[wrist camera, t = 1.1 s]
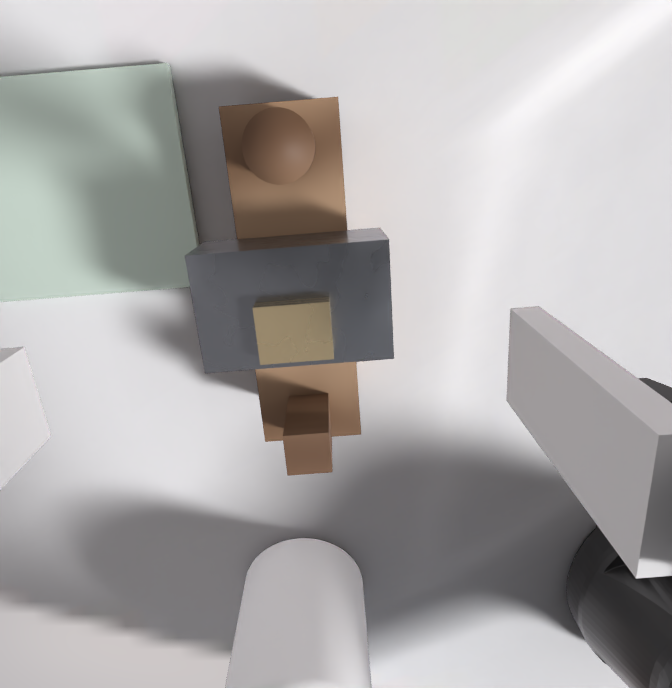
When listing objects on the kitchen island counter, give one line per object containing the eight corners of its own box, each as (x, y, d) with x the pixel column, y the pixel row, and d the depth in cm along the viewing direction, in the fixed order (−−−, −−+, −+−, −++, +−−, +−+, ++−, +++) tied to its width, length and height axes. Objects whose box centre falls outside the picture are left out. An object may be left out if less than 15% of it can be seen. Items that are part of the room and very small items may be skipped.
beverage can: (231, 604, 37) (190, 798, 26) (268, 516, 35) (241, 689, 24) (336, 634, 39) (341, 832, 27) (380, 551, 36) (404, 731, 25)
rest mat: (205, 283, 29) (203, 286, 29) (-6, 300, 30) (-12, 303, 29) (169, 64, 26) (166, 62, 25) (-72, 85, 26) (-81, 83, 25)
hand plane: (355, 393, 32) (366, 479, 23) (274, 399, 32) (255, 487, 24) (336, 107, 26) (340, 84, 18) (237, 115, 27) (196, 96, 18)
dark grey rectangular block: (385, 332, 25) (396, 365, 21) (220, 345, 25) (200, 380, 21) (380, 227, 24) (391, 242, 20) (204, 241, 24) (178, 259, 20)
